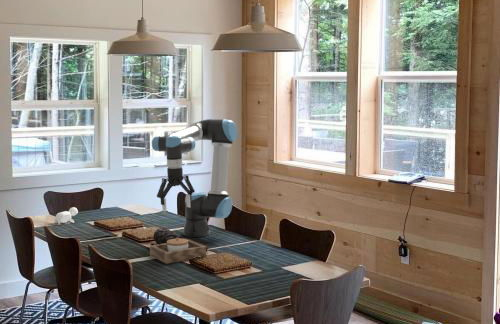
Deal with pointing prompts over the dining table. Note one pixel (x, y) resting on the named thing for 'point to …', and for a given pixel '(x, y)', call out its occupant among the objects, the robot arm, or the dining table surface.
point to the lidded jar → (177, 244)
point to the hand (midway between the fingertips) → (176, 209)
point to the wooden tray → (177, 252)
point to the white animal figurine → (66, 216)
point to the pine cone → (163, 235)
